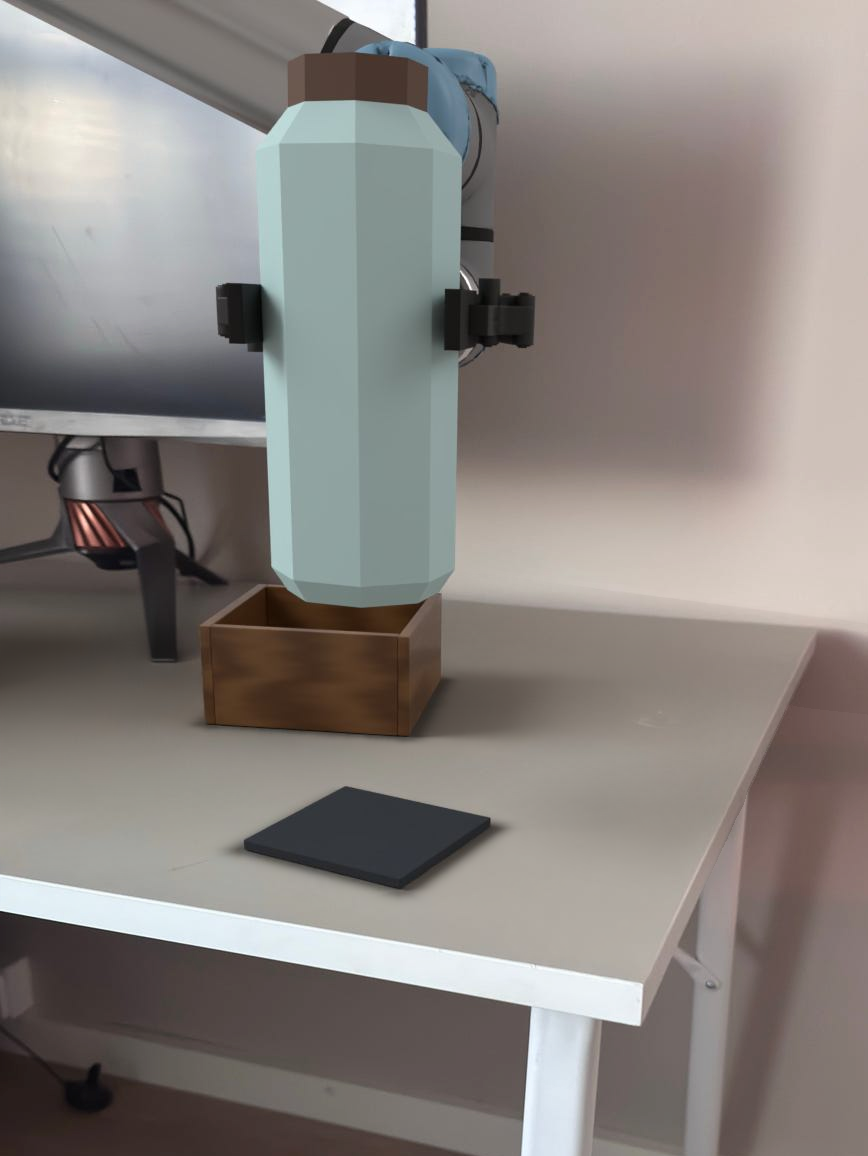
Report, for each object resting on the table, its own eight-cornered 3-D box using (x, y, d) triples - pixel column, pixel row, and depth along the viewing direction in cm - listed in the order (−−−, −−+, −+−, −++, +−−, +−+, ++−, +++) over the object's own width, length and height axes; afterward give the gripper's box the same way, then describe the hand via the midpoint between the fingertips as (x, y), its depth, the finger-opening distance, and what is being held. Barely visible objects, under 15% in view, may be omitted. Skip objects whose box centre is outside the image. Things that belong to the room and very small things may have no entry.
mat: (243, 849, 70) (243, 839, 70) (345, 794, 78) (345, 785, 78) (400, 889, 66) (400, 878, 65) (490, 826, 74) (491, 817, 74)
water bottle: (359, 620, 64) (352, 36, 54) (234, 589, 70) (207, 58, 60) (491, 592, 71) (506, 70, 61) (367, 566, 77) (362, 86, 67)
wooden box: (204, 723, 90) (198, 625, 88) (262, 670, 104) (258, 583, 101) (409, 736, 89) (409, 637, 86) (440, 680, 102) (441, 592, 99)
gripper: (590, 383, 82) (573, 408, 62) (247, 371, 84) (122, 392, 64) (597, 253, 79) (582, 235, 59) (242, 245, 81) (108, 224, 61)
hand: (342, 316), depth 61 cm, fingers closed on water bottle, 10 cm apart
